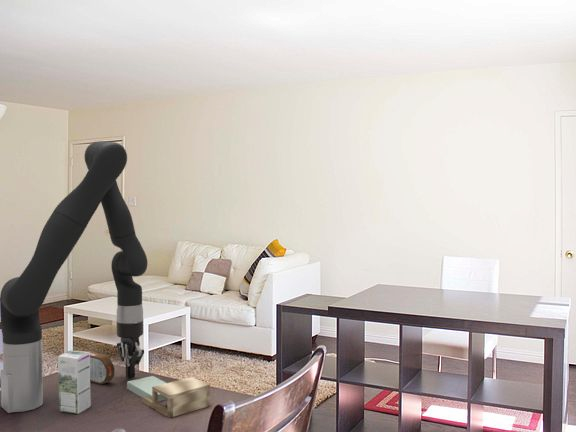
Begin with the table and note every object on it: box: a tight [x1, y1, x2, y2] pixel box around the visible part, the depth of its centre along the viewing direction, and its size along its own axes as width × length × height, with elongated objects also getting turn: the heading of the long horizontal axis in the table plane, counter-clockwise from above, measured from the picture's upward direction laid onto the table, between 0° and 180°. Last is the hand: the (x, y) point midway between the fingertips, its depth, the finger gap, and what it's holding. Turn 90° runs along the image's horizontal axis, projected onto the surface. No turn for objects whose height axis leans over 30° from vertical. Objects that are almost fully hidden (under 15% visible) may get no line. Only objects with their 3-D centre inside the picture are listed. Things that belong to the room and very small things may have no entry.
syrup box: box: [57, 350, 92, 415], centre depth 147 cm, size 6×6×14 cm
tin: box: [82, 349, 115, 385], centre depth 170 cm, size 15×3×8 cm, turn 58°
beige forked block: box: [142, 376, 211, 419], centre depth 151 cm, size 12×13×6 cm
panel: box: [126, 375, 167, 403], centre depth 160 cm, size 8×15×2 cm, turn 41°
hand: (130, 377), depth 170 cm, fingers closed
